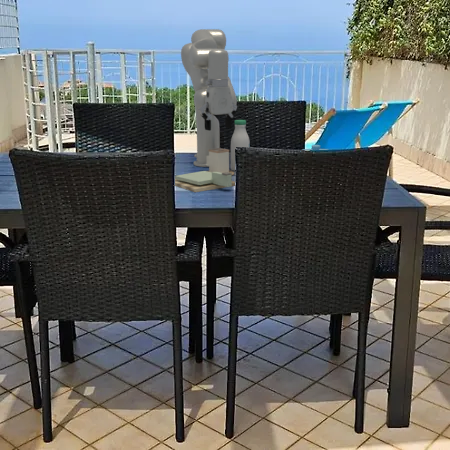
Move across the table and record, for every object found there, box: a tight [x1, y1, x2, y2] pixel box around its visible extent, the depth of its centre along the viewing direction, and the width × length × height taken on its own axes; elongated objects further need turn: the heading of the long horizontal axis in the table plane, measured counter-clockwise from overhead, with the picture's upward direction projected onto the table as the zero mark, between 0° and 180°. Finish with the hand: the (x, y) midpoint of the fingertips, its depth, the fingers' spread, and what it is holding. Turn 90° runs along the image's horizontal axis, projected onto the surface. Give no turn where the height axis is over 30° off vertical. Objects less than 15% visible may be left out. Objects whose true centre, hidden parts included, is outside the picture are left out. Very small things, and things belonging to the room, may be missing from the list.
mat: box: [207, 169, 235, 176], centre depth 242 cm, size 12×12×1 cm
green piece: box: [174, 170, 233, 188], centre depth 219 cm, size 14×22×5 cm, turn 42°
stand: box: [174, 178, 236, 193], centre depth 223 cm, size 18×18×2 cm
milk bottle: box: [230, 119, 251, 172], centre depth 247 cm, size 8×8×20 cm
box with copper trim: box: [206, 147, 230, 173], centre depth 241 cm, size 6×8×9 cm
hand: (218, 129), depth 237 cm, fingers open, 9 cm apart
